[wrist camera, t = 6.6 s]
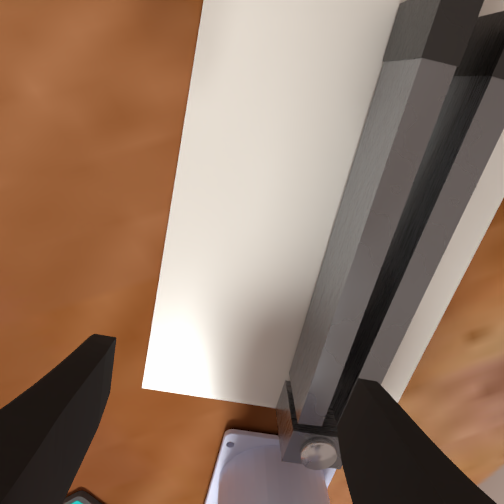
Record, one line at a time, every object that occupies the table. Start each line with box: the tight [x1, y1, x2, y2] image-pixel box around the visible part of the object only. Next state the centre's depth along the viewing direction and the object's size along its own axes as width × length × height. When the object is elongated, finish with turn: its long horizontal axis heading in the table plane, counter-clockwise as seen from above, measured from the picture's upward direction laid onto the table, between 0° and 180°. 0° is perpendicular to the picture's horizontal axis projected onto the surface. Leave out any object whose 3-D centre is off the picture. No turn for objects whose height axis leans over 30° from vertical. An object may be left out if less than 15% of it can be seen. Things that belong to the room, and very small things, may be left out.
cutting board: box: [142, 0, 504, 408], centre depth 19 cm, size 24×15×1 cm, turn 167°
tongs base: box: [276, 11, 504, 470], centre depth 17 cm, size 21×3×4 cm, turn 167°
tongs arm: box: [289, 0, 484, 426], centre depth 17 cm, size 18×1×4 cm, turn 169°
